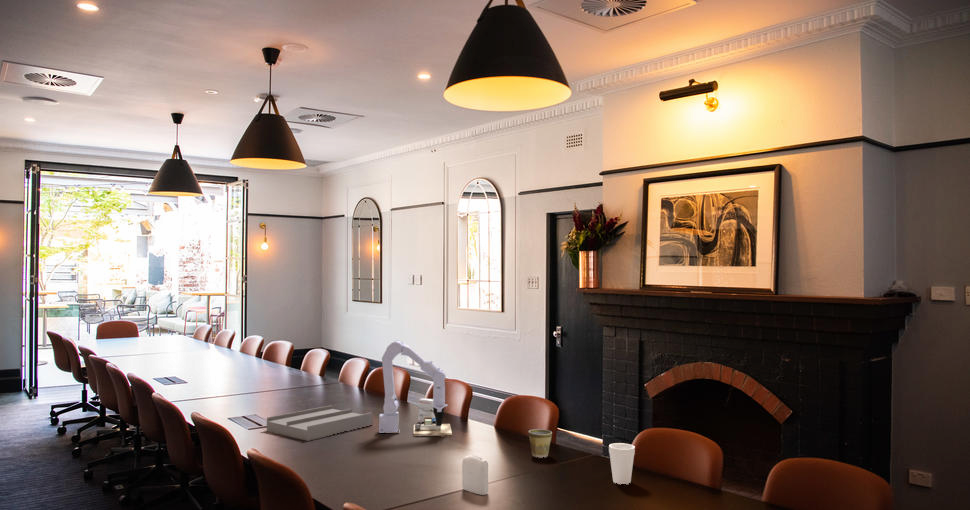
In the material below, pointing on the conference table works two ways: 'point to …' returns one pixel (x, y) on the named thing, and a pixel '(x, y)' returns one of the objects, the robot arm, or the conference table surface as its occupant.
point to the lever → (427, 427)
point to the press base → (444, 430)
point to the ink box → (426, 409)
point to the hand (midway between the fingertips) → (438, 424)
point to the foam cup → (621, 462)
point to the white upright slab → (475, 474)
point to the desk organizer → (317, 422)
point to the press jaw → (427, 421)
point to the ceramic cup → (540, 442)
